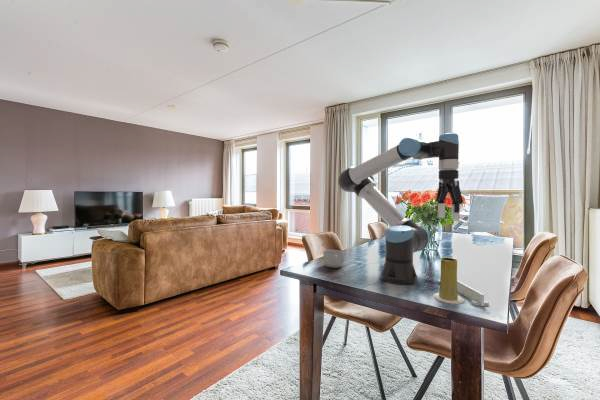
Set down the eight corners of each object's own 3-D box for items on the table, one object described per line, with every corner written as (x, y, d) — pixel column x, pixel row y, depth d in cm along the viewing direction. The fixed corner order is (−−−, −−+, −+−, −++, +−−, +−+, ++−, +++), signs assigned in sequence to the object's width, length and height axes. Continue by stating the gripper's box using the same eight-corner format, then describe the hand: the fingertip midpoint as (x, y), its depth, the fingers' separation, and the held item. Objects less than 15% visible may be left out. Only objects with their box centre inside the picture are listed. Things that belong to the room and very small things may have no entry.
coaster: (442, 304, 97) (442, 303, 97) (428, 293, 107) (428, 292, 107) (470, 303, 97) (470, 303, 97) (453, 293, 107) (453, 292, 107)
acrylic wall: (475, 306, 95) (475, 294, 95) (436, 281, 121) (436, 272, 121) (489, 306, 95) (490, 294, 95) (447, 281, 121) (447, 272, 121)
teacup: (323, 263, 151) (323, 248, 150) (344, 264, 149) (344, 249, 149) (322, 270, 137) (322, 254, 137) (344, 271, 135) (344, 255, 135)
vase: (435, 295, 105) (436, 257, 104) (449, 293, 106) (450, 256, 105) (447, 301, 99) (448, 261, 98) (461, 299, 100) (462, 260, 99)
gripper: (473, 167, 107) (472, 222, 108) (444, 172, 132) (444, 216, 133) (452, 167, 108) (452, 221, 108) (428, 172, 133) (428, 216, 133)
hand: (448, 219), depth 121 cm, fingers open, 13 cm apart
